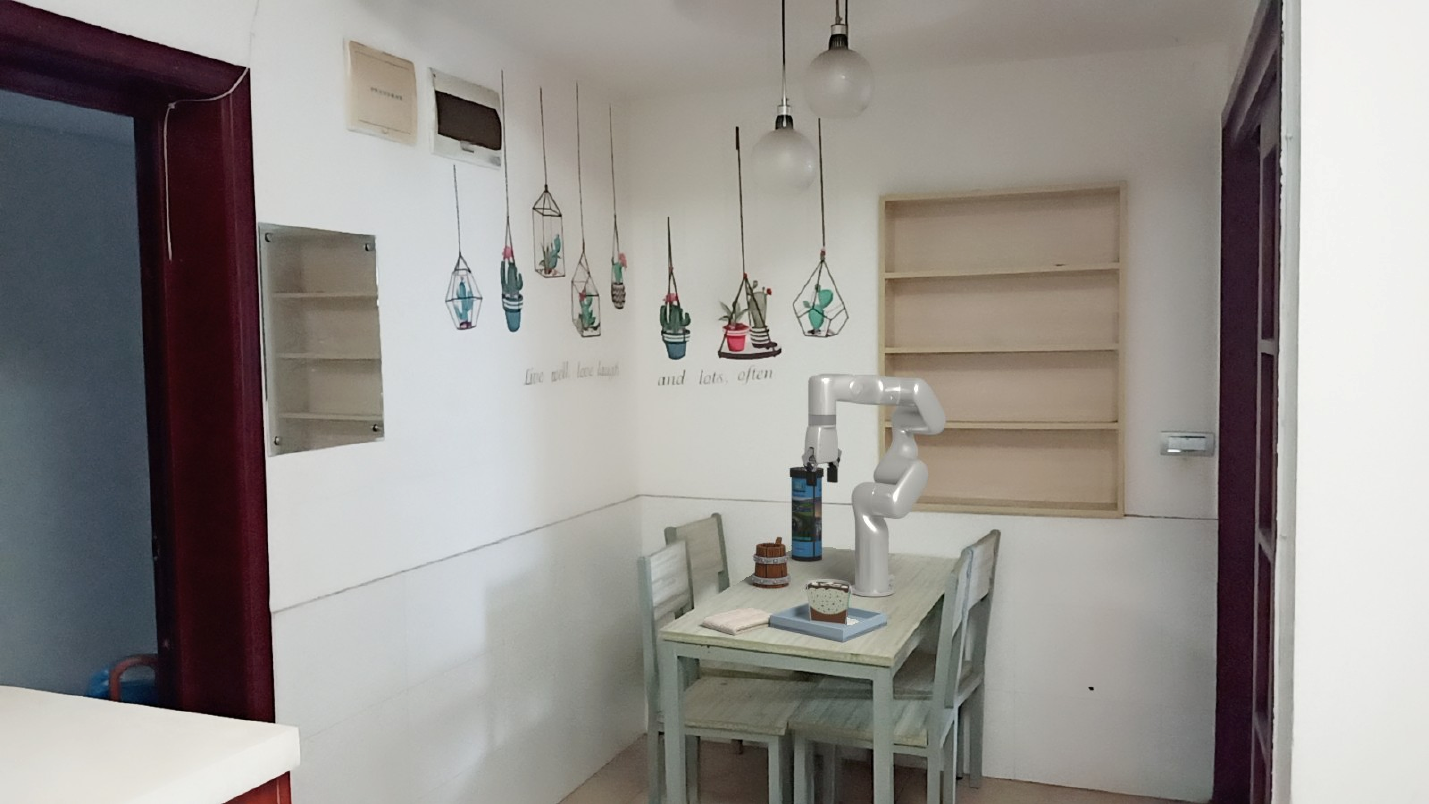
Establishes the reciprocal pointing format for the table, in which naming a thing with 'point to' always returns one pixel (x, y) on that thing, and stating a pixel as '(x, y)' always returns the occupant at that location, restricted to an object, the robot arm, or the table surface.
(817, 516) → the advertising column
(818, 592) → the food container
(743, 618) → the washcloth
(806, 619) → the tray
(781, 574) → the mug
